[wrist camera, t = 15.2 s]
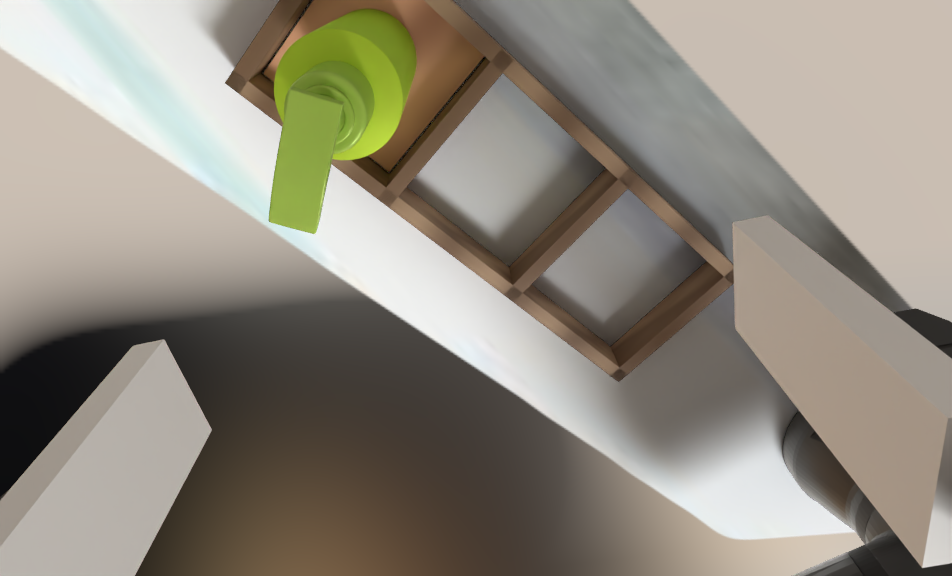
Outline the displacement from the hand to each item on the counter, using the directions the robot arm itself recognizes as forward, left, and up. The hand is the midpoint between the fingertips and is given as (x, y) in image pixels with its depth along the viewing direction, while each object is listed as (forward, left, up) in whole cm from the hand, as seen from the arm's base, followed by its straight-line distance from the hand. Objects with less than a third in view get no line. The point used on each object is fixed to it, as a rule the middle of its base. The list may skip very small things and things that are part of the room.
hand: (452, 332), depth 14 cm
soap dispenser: (+2, +5, -31) cm, 31 cm away
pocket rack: (-7, -3, -31) cm, 31 cm away
